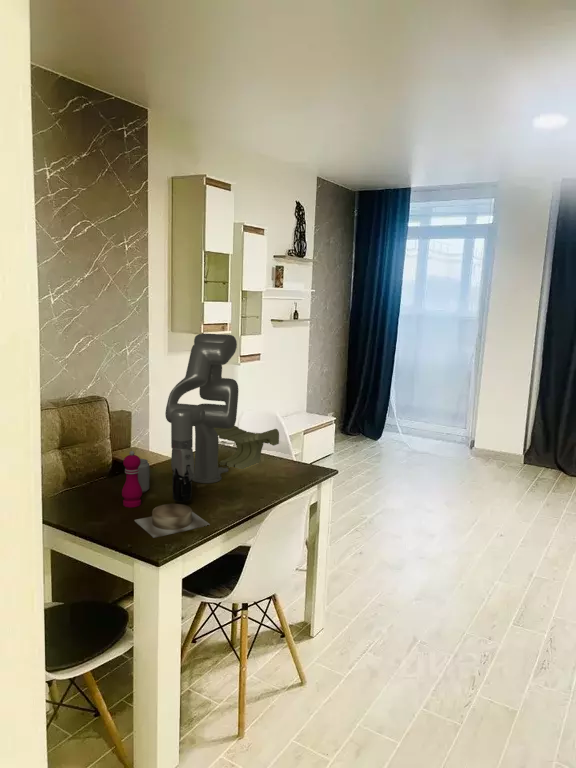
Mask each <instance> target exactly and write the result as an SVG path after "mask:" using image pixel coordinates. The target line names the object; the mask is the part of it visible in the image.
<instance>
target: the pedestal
mask: <svg viewBox="0 0 576 768" xmlns="http://www.w3.org/2000/svg"><path fill="white" fill-rule="evenodd" d="M151 514H152V515H151V516H147V517H142V518H138V519H134V522H135V523H136V525H138V526H140V528H142V529H143V530H144V531H145V532H146V533H148V534H149V535H150V536H151V537H152V538H153V539H154V538H160V537H164V536H167V535H172V534H177V533H182V532H186V531H191V530H196V529H199V528H203V527H204V526H205V527H208V526H207V525H209V526H210V525H211V524H210V522H208V521H206V520H205V519H203V518H202V517H200V516H199V515H198V514H196V513H195V512H194V511H193V508H192V507H191V506H189V505H187V504H183V503H167V504H162V505H158V506H156V507H155V508H153V509H152V511H151ZM205 527H204V528H205Z"/></svg>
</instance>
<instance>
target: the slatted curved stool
mask: <svg viewBox="0 0 576 768" xmlns="http://www.w3.org/2000/svg"><path fill="white" fill-rule="evenodd" d="M214 429H215V431H216V433H217V435H218V438H219V440H225V441H226V440H227V441H230V442H234V444H235V446H236V451H235V453H234V454H232V455H231V456H229V457H227V458H225V459H223V460H220V461H219V462H218V465H219V464H220V465H219V466H221V465H227V466H229V467H228V468H230V467H235V468H238V469H244V468H246V467H249V466H251V465H254V464H256V463H259V462H260V463H261V457H262V452H263V447H264V444H269V445H271V446H276V445H279V444H280V432H279V431H280V430H278V429H277V428H274V429H271V430H267V431H264V432H263V431H262V432H257V433H255V432H251V431H247V430H244V429H242V428H239V426H237V425H234V427H233V428H229V429H226V428H214ZM260 463H259V464H260ZM227 466H226V467H227ZM235 468H234V469H235ZM249 468H250V467H249ZM238 469H237V470H238ZM244 470H245V469H244Z"/></svg>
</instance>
